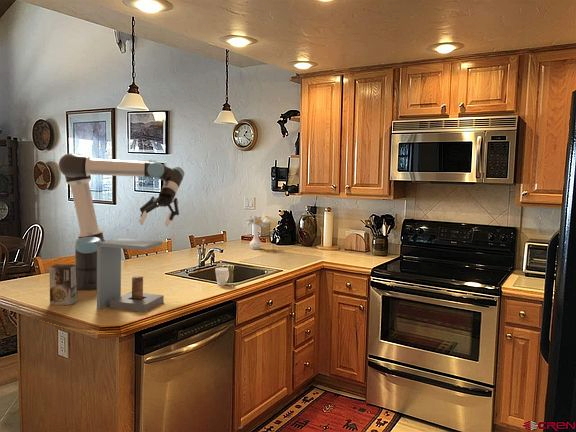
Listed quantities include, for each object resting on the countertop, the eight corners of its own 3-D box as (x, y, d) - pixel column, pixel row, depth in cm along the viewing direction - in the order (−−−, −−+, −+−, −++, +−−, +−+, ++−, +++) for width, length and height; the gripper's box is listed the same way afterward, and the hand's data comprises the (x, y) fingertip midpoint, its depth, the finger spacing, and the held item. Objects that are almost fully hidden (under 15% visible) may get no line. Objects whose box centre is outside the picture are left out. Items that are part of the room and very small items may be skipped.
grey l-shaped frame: (96, 308, 194) (97, 242, 192) (117, 299, 209) (118, 238, 206) (143, 314, 190) (144, 246, 187) (161, 304, 204) (162, 241, 202)
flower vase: (269, 248, 367) (270, 216, 365) (255, 250, 352) (256, 217, 350) (256, 246, 374) (257, 214, 372) (241, 248, 359) (242, 216, 357)
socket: (109, 307, 196) (109, 300, 196) (130, 298, 212) (130, 291, 212) (144, 311, 193) (144, 304, 193) (163, 301, 208) (163, 295, 208)
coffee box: (77, 301, 204) (77, 264, 203) (71, 305, 198) (71, 267, 197) (56, 300, 204) (55, 263, 203) (49, 304, 198) (48, 266, 196)
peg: (129, 305, 201) (129, 277, 200) (135, 302, 205) (135, 275, 204) (139, 306, 200) (139, 278, 199) (144, 304, 204) (145, 276, 203)
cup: (211, 284, 244) (212, 269, 243) (222, 280, 253) (223, 266, 252) (223, 286, 241) (223, 270, 240) (233, 282, 250) (234, 267, 249)
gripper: (193, 198, 241) (179, 230, 228) (148, 195, 247) (133, 227, 234) (189, 187, 236) (175, 220, 223) (143, 185, 241) (127, 217, 228)
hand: (153, 223), depth 228 cm, fingers open, 13 cm apart
